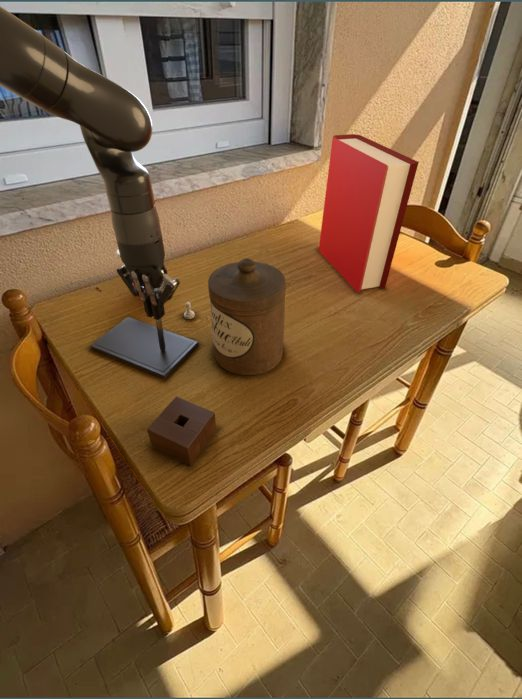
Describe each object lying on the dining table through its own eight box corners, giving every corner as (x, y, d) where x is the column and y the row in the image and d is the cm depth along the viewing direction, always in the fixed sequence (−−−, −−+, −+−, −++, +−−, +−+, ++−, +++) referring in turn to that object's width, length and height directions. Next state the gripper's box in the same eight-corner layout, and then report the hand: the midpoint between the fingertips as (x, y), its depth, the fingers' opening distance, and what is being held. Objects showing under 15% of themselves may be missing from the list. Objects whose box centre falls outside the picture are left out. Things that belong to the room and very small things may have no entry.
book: (384, 289, 103) (418, 161, 82) (358, 293, 101) (386, 164, 80) (339, 245, 123) (357, 133, 102) (316, 248, 121) (330, 135, 100)
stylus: (163, 352, 81) (155, 294, 72) (159, 351, 81) (150, 293, 72) (167, 349, 81) (159, 292, 73) (162, 348, 82) (154, 290, 73)
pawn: (187, 320, 91) (185, 306, 88) (182, 315, 93) (180, 301, 90) (196, 316, 92) (195, 303, 90) (191, 311, 94) (190, 298, 91)
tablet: (164, 379, 76) (164, 375, 76) (90, 348, 83) (89, 345, 82) (198, 344, 84) (198, 341, 84) (128, 319, 91) (127, 316, 90)
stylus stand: (190, 466, 62) (187, 448, 58) (151, 447, 64) (146, 428, 61) (216, 430, 67) (214, 412, 64) (179, 414, 69) (176, 396, 66)
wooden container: (201, 346, 84) (191, 255, 69) (256, 323, 91) (257, 235, 76) (238, 386, 75) (235, 291, 60) (296, 357, 82) (305, 266, 67)
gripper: (91, 233, 64) (116, 317, 75) (156, 250, 59) (172, 337, 71) (123, 217, 69) (141, 298, 80) (184, 233, 64) (195, 316, 76)
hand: (155, 316), depth 75 cm, fingers closed on stylus, 1 cm apart
